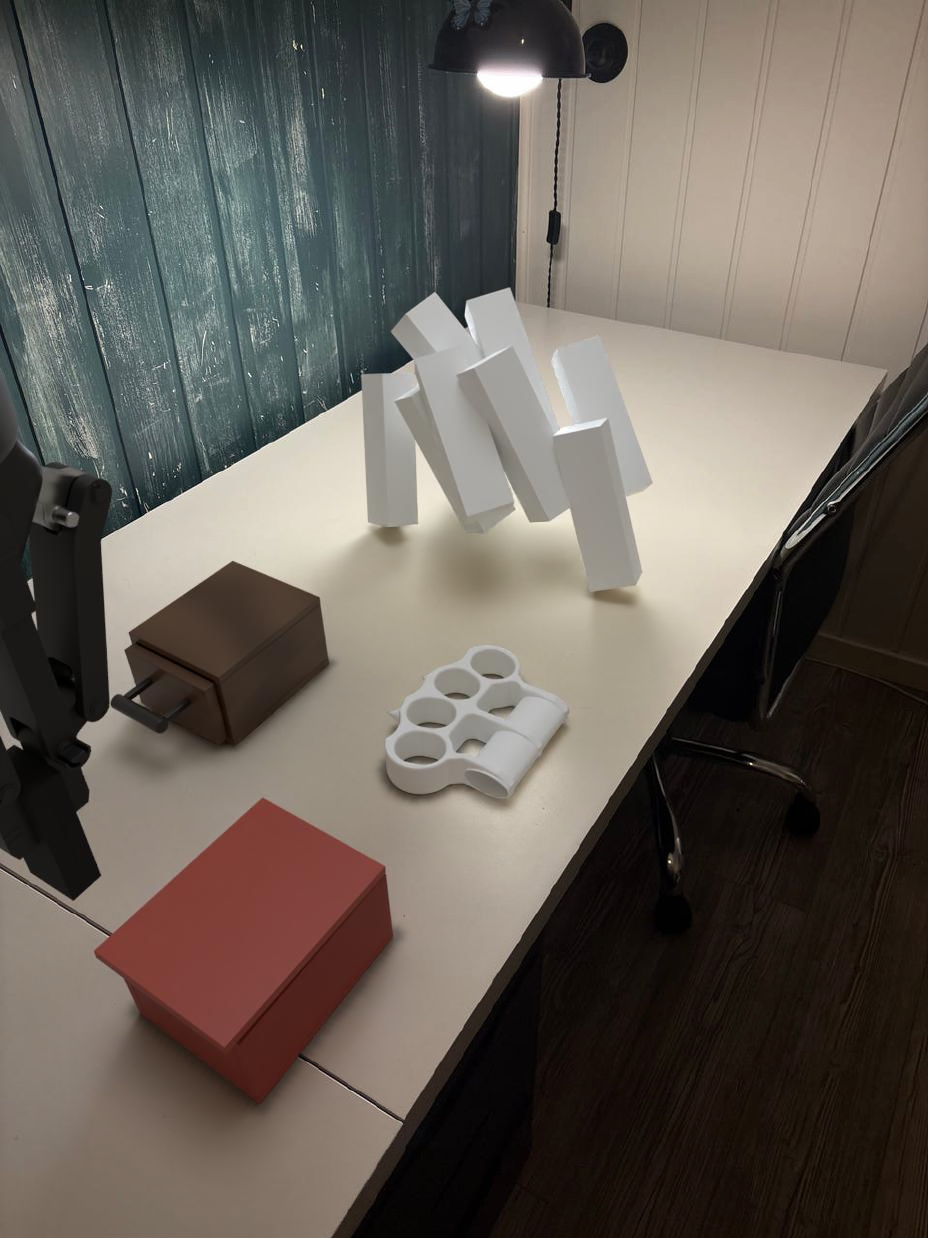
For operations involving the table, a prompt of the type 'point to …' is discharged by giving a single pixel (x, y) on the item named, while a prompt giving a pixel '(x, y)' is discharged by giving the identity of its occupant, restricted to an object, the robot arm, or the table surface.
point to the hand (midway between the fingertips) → (65, 874)
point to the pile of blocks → (505, 433)
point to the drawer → (170, 696)
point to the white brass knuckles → (472, 726)
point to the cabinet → (242, 641)
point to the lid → (240, 921)
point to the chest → (291, 1002)
